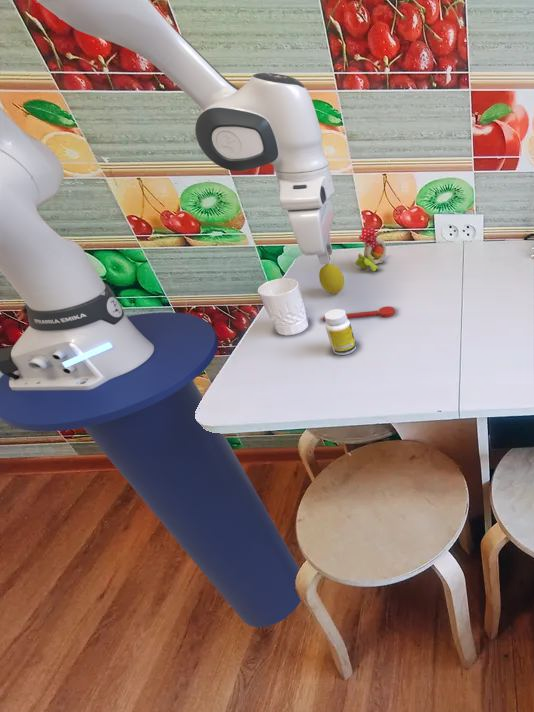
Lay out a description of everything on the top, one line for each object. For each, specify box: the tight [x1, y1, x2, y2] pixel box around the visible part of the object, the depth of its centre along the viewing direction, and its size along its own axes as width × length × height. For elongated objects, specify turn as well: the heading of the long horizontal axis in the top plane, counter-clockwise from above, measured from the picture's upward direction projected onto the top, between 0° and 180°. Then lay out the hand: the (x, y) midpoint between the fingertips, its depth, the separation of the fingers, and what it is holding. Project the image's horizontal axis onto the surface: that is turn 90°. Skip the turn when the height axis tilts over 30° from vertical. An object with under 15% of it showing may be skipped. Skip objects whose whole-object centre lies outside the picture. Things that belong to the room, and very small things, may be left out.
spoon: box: [322, 305, 396, 322], centre depth 106 cm, size 16×4×1 cm, turn 101°
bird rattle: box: [354, 227, 387, 272], centre depth 124 cm, size 6×11×9 cm
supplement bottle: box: [324, 308, 357, 356], centre depth 93 cm, size 5×5×8 cm
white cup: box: [257, 277, 309, 336], centre depth 100 cm, size 8×8×10 cm
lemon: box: [318, 263, 345, 295], centre depth 112 cm, size 6×6×8 cm
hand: (326, 258), depth 90 cm, fingers open, 3 cm apart
